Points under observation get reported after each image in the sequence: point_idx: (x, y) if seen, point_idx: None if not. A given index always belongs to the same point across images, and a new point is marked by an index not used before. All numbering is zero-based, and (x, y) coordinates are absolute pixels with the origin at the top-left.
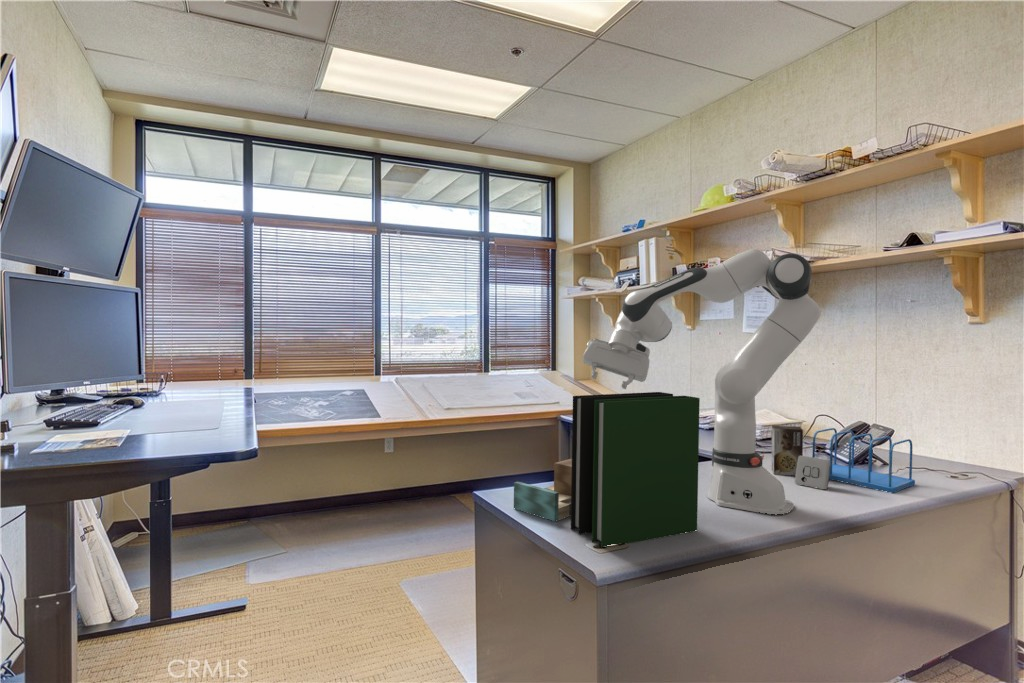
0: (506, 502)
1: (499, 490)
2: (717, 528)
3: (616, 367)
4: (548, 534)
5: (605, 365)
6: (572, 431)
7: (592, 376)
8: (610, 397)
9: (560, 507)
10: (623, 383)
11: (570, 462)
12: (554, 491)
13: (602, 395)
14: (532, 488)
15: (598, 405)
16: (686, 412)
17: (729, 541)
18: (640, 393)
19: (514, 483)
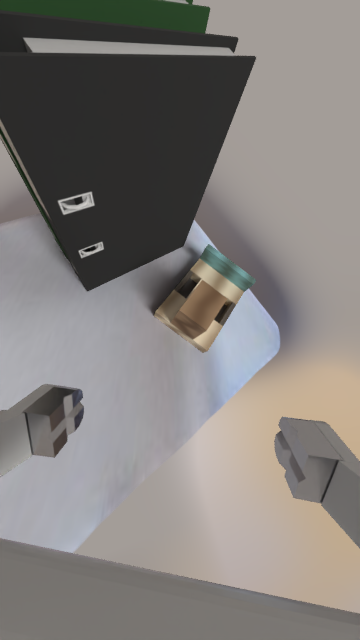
0: (251, 311)
1: (270, 353)
2: (26, 248)
3: (79, 581)
4: (200, 235)
5: (324, 609)
6: (222, 144)
7: (311, 420)
8: (179, 34)
9: (198, 260)
10: (59, 396)
11: (206, 304)
12: (210, 251)
13: (197, 58)
14: (233, 263)
15: (199, 24)
16: None
17: (31, 217)
18: (76, 55)
19: (254, 280)
